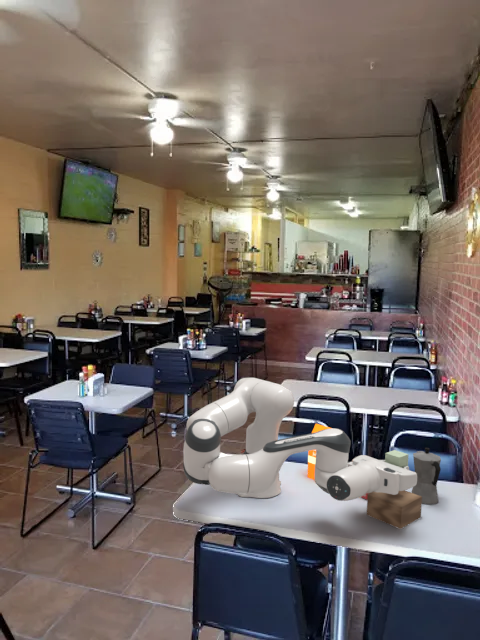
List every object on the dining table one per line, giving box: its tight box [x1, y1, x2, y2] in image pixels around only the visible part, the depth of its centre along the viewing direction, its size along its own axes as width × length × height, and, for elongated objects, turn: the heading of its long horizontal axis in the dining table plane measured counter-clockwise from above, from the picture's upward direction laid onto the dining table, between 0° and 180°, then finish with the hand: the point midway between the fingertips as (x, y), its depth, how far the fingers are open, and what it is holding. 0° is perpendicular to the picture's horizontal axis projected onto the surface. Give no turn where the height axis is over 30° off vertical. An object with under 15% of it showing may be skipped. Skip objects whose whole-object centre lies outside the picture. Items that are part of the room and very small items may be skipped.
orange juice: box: [307, 423, 331, 481], centre depth 189 cm, size 8×9×20 cm
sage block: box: [384, 449, 409, 468], centre depth 160 cm, size 5×5×10 cm
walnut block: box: [366, 490, 423, 530], centre depth 161 cm, size 12×12×7 cm
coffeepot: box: [411, 447, 442, 506], centre depth 172 cm, size 15×9×18 cm, turn 6°
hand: (398, 465), depth 160 cm, fingers closed on sage block, 5 cm apart
